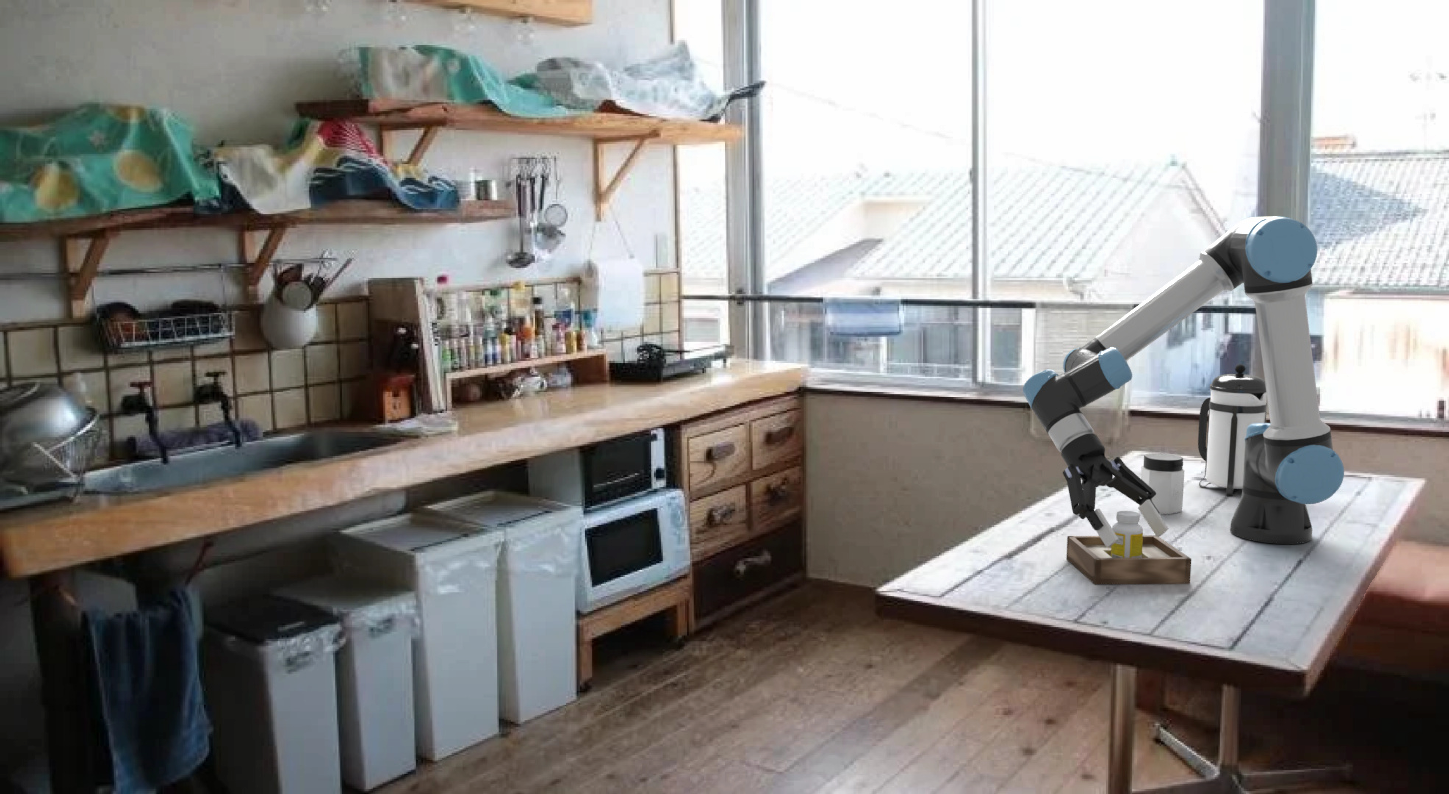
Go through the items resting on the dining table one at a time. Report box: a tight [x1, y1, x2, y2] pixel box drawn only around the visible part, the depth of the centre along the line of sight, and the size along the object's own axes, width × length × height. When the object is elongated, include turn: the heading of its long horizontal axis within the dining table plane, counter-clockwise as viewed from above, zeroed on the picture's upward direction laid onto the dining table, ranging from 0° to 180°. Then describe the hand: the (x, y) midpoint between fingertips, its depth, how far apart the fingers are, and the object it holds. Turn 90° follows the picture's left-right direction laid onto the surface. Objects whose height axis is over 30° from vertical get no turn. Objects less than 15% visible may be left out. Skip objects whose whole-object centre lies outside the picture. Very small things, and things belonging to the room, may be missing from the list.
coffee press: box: [1197, 363, 1268, 497], centre depth 288 cm, size 17×16×30 cm
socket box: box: [1065, 534, 1192, 586], centre depth 223 cm, size 17×16×4 cm
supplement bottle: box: [1111, 510, 1144, 558], centre depth 222 cm, size 5×5×10 cm
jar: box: [1138, 452, 1185, 515], centre depth 268 cm, size 9×8×12 cm
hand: (1138, 538), depth 220 cm, fingers open, 13 cm apart
